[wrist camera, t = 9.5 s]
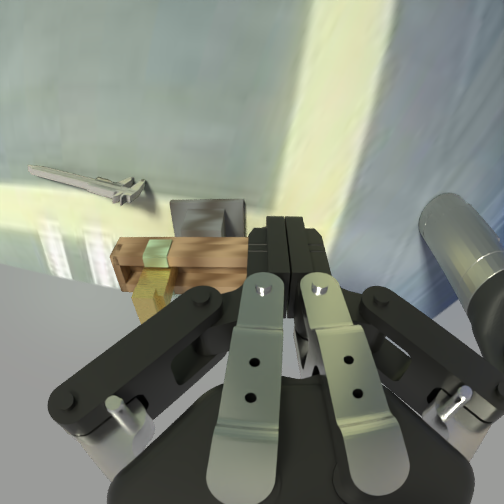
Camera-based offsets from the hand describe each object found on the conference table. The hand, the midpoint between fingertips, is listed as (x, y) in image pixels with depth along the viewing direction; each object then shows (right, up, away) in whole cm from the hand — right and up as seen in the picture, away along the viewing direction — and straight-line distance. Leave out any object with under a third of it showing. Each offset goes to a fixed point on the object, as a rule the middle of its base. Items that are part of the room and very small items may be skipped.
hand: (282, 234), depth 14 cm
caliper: (-26, +11, +27) cm, 39 cm away
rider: (-12, -2, +27) cm, 29 cm away
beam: (-7, +2, +33) cm, 33 cm away
